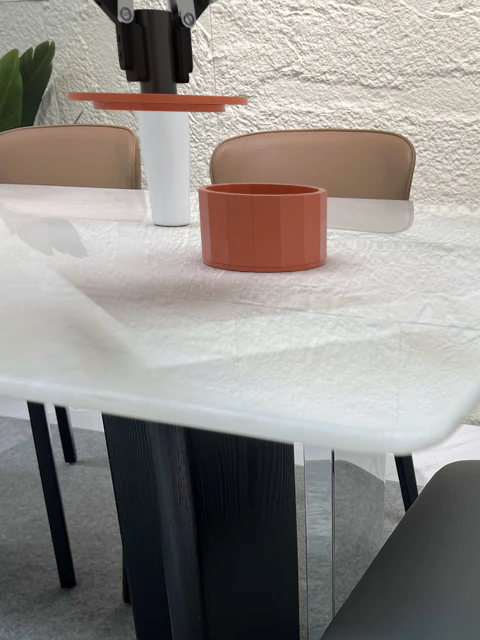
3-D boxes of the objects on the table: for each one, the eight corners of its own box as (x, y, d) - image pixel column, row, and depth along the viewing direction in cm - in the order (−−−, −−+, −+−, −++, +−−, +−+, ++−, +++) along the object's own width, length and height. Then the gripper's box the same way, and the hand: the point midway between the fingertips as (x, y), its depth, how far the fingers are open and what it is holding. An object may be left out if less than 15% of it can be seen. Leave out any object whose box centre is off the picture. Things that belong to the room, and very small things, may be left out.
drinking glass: (172, 229, 105) (162, 106, 98) (137, 224, 108) (125, 105, 102) (206, 224, 110) (198, 107, 104) (171, 219, 113) (162, 106, 107)
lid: (94, 110, 56) (80, -7, 53) (50, 107, 67) (37, 11, 64) (277, 114, 63) (274, 11, 60) (210, 111, 74) (205, 24, 71)
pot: (232, 276, 77) (228, 197, 74) (185, 254, 88) (180, 184, 84) (348, 266, 84) (349, 193, 81) (291, 247, 94) (290, 181, 91)
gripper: (219, -168, 63) (231, 86, 71) (4, -213, 55) (45, 79, 63) (258, -194, 57) (266, 85, 65) (24, -248, 49) (66, 78, 57)
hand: (157, 80), depth 64 cm, fingers closed on lid, 3 cm apart
